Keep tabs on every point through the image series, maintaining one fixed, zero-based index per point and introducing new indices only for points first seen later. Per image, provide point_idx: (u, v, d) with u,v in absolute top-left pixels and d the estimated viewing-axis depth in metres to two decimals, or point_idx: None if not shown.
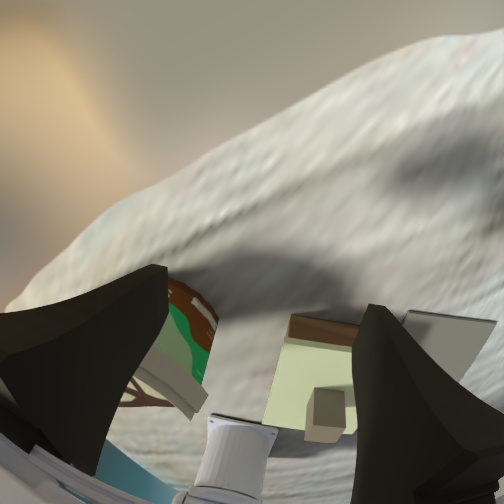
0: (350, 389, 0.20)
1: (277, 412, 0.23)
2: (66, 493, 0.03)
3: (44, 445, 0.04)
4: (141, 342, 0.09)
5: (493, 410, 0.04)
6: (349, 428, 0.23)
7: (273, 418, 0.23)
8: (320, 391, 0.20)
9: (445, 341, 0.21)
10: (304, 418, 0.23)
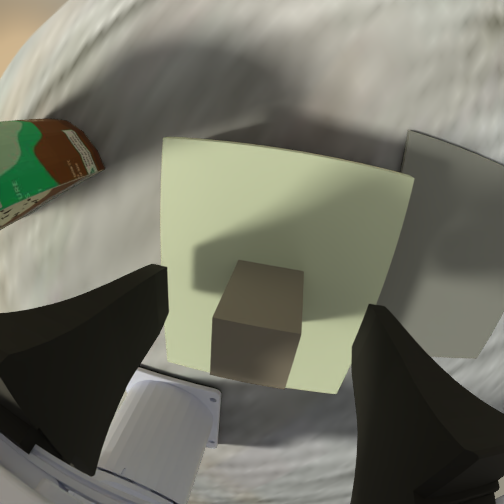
0: (316, 267, 0.11)
1: (185, 332, 0.13)
2: (66, 493, 0.03)
3: (44, 445, 0.04)
4: (141, 342, 0.09)
5: (493, 410, 0.04)
6: (328, 380, 0.13)
7: (182, 348, 0.14)
8: (250, 266, 0.11)
9: (482, 207, 0.11)
10: None
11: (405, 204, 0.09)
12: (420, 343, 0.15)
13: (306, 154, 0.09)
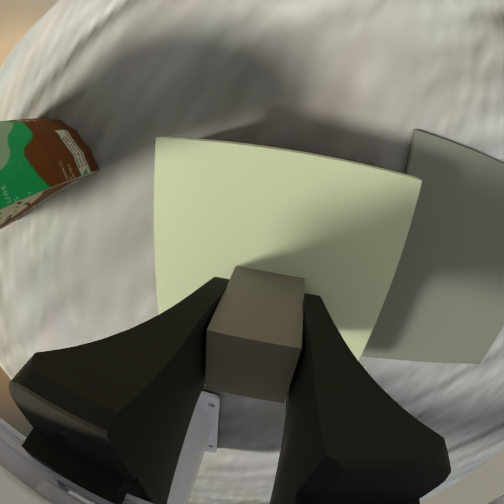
0: (317, 274, 0.10)
1: None
2: (66, 493, 0.03)
3: (133, 491, 0.04)
4: None
5: (406, 416, 0.04)
6: None
7: None
8: (247, 272, 0.10)
9: (489, 210, 0.11)
10: None
11: (412, 208, 0.09)
12: (423, 349, 0.15)
13: (307, 154, 0.09)
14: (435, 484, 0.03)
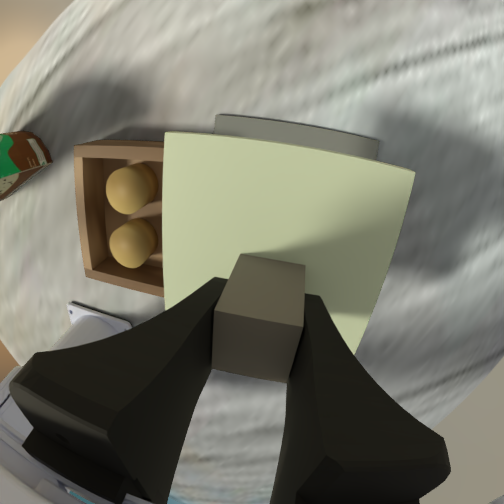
0: (317, 261, 0.11)
1: None
2: (66, 493, 0.03)
3: (132, 491, 0.04)
4: (209, 360, 0.09)
5: (406, 416, 0.04)
6: None
7: None
8: (251, 259, 0.11)
9: None
10: None
11: (406, 198, 0.09)
12: None
13: (307, 148, 0.09)
14: (435, 484, 0.03)
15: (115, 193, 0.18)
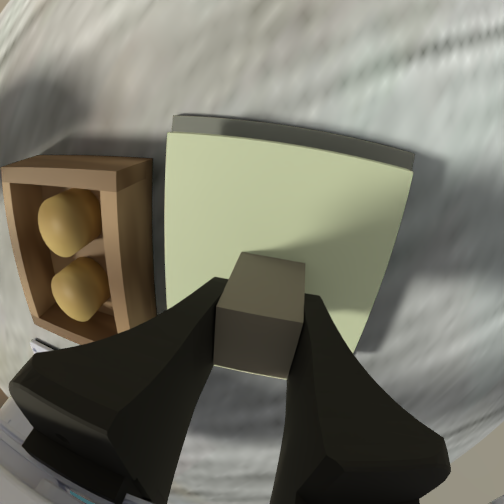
0: (317, 259, 0.11)
1: None
2: (66, 493, 0.03)
3: (132, 491, 0.04)
4: (209, 360, 0.09)
5: (406, 416, 0.04)
6: None
7: None
8: (252, 258, 0.11)
9: None
10: None
11: (404, 197, 0.09)
12: None
13: (307, 148, 0.09)
14: (435, 484, 0.03)
15: (48, 229, 0.12)
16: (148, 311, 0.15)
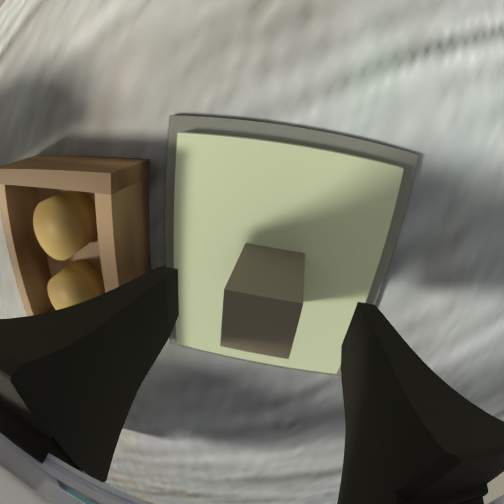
0: (316, 249, 0.12)
1: (194, 313, 0.14)
2: (66, 493, 0.03)
3: (57, 453, 0.04)
4: (152, 345, 0.09)
5: (481, 412, 0.04)
6: (328, 359, 0.14)
7: (191, 329, 0.15)
8: (256, 248, 0.12)
9: None
10: None
11: (396, 192, 0.10)
12: None
13: (306, 147, 0.10)
14: None
15: (44, 232, 0.12)
16: None
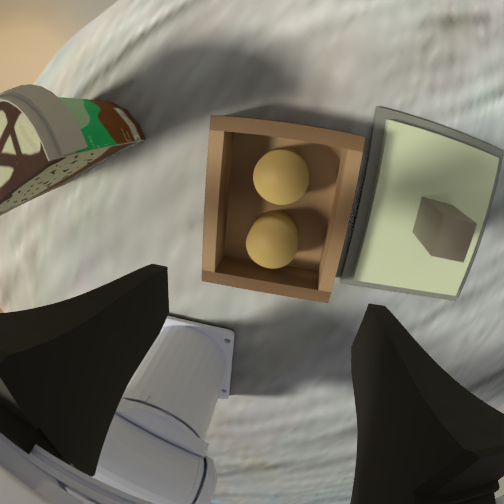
0: (457, 202, 0.16)
1: (376, 251, 0.18)
2: (66, 493, 0.03)
3: (44, 445, 0.04)
4: (141, 342, 0.09)
5: (493, 410, 0.04)
6: (453, 283, 0.18)
7: (370, 265, 0.19)
8: (430, 199, 0.16)
9: None
10: (407, 261, 0.18)
11: (495, 171, 0.14)
12: None
13: (457, 141, 0.14)
14: None
15: (268, 178, 0.16)
16: None
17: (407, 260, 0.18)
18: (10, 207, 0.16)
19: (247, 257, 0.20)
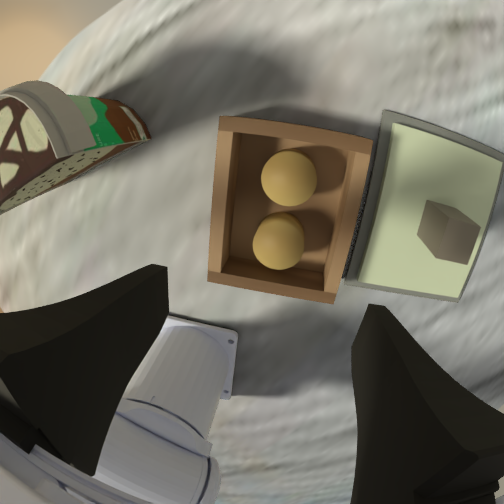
0: (461, 206, 0.16)
1: (381, 252, 0.18)
2: (66, 493, 0.03)
3: (44, 445, 0.04)
4: (141, 342, 0.09)
5: (493, 410, 0.04)
6: (456, 285, 0.18)
7: (374, 266, 0.19)
8: (434, 202, 0.16)
9: None
10: (411, 263, 0.18)
11: (498, 175, 0.14)
12: None
13: (462, 145, 0.14)
14: None
15: (276, 180, 0.16)
16: None
17: (411, 262, 0.18)
18: (13, 205, 0.16)
19: (252, 258, 0.20)
